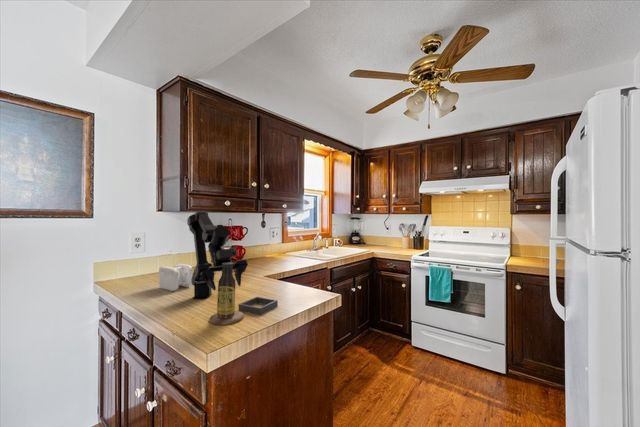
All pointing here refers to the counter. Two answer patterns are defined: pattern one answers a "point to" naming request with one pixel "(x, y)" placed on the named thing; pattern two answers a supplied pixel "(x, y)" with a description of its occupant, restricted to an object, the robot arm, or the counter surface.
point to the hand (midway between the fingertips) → (227, 287)
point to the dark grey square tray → (249, 308)
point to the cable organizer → (175, 276)
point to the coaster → (236, 318)
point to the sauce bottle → (226, 292)
